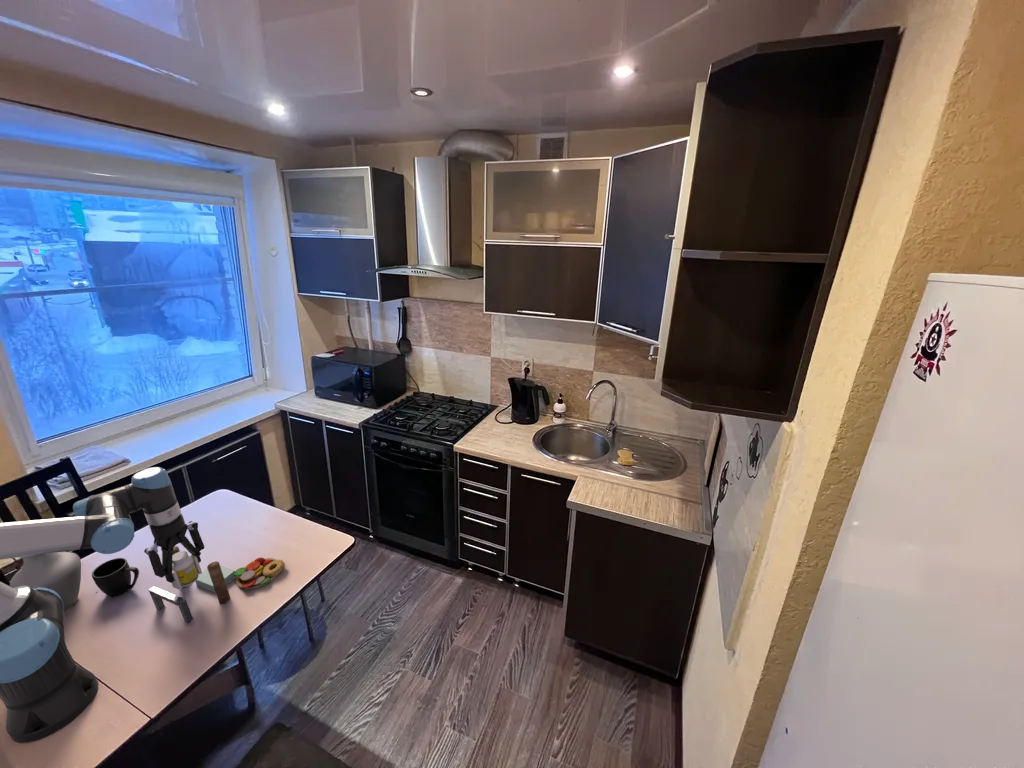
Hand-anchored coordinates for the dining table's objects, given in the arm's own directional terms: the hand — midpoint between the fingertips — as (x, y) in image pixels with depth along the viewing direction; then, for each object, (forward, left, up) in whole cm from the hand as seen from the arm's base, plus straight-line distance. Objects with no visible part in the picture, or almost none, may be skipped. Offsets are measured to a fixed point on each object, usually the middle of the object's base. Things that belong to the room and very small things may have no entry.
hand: (187, 579), depth 129 cm
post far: (+3, +9, -8) cm, 12 cm away
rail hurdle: (-6, 0, -8) cm, 10 cm away
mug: (-6, +24, -8) cm, 26 cm away
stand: (+7, +1, -8) cm, 11 cm away
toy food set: (+14, -11, -8) cm, 20 cm away
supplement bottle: (0, 0, -1) cm, 1 cm away
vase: (-16, +36, -8) cm, 40 cm away
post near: (+3, -9, -8) cm, 12 cm away
